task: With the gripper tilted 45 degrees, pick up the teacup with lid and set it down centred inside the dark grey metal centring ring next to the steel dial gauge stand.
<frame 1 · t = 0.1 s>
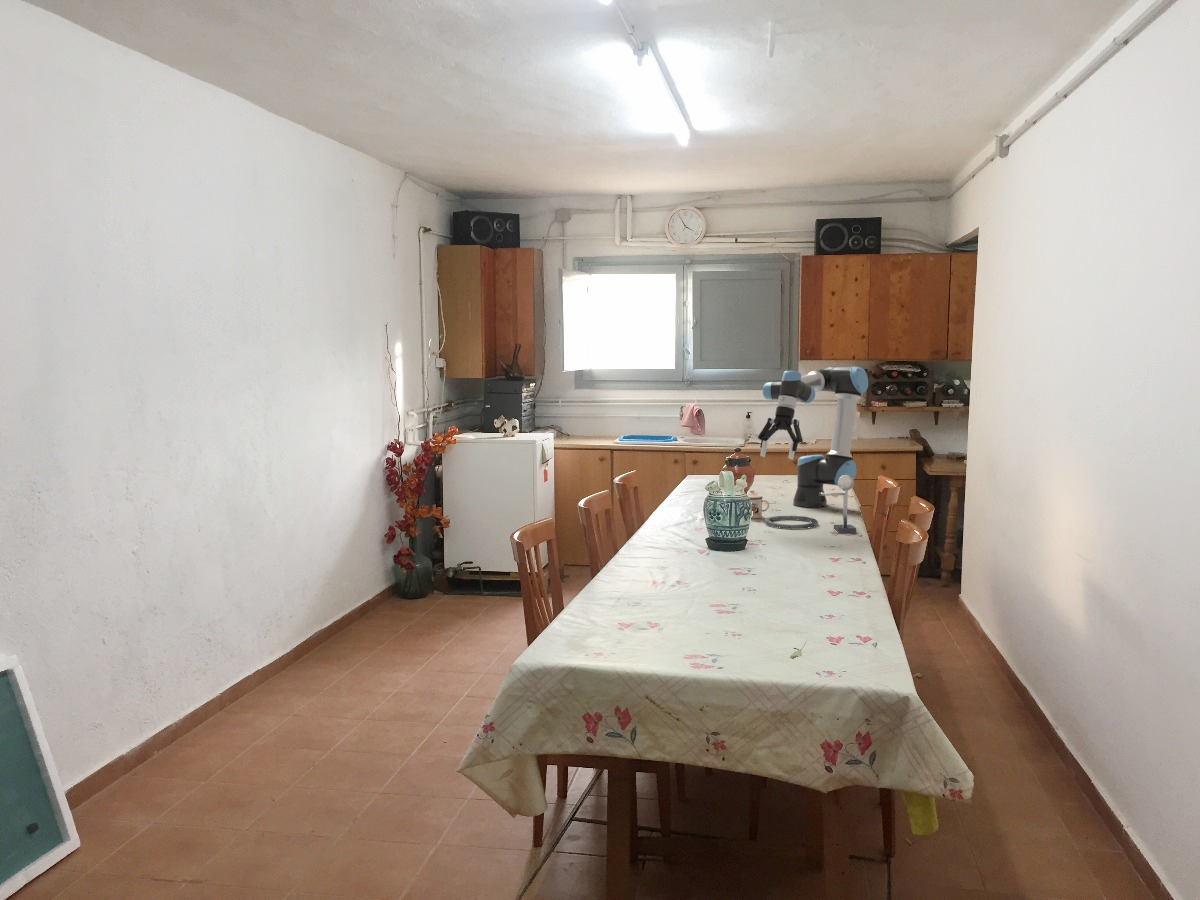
hand: (776, 457, 370), 28 cm above the table, tool tilted 20°, fingers open, 13 cm apart
dial gauge stand: (844, 531, 358), on the table
teacup with lid: (755, 517, 391), on the table
centring ring: (791, 523, 374), on the table
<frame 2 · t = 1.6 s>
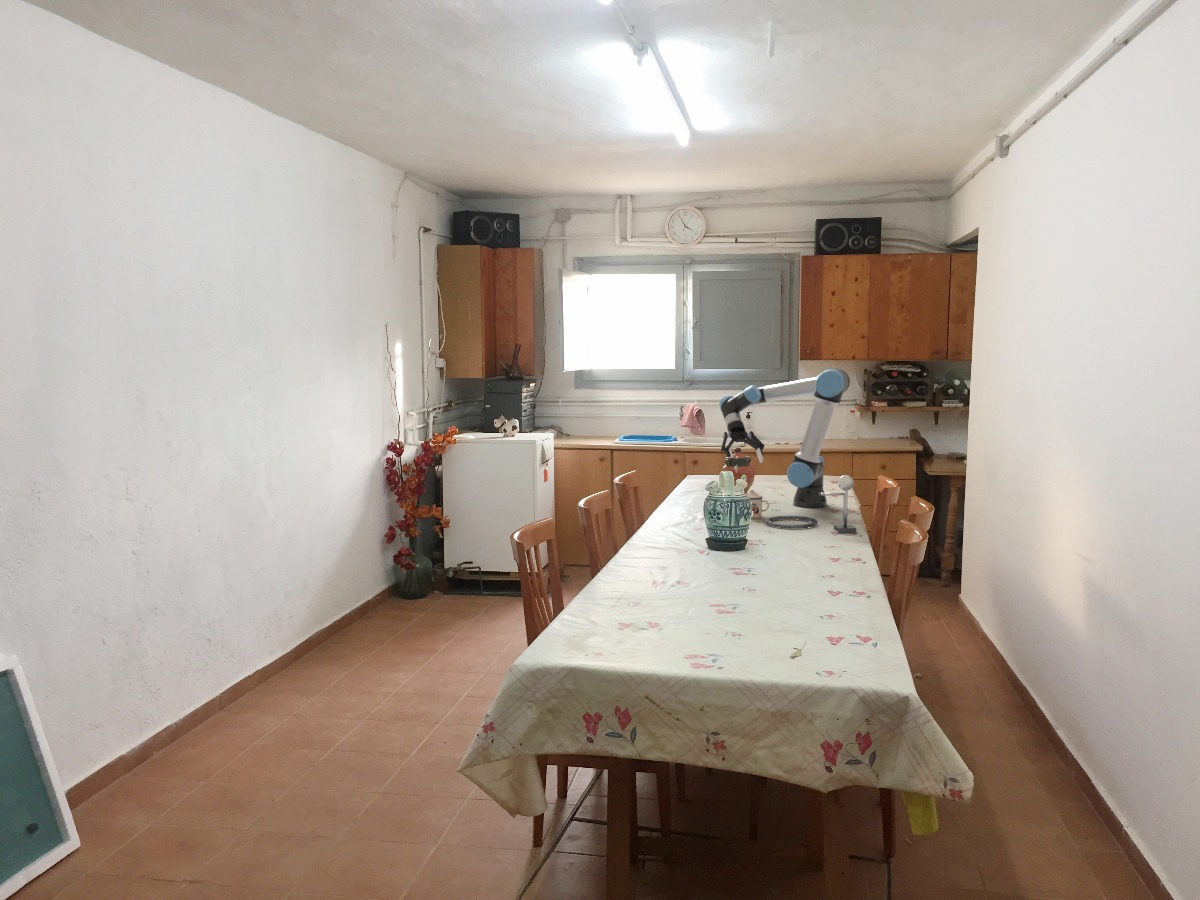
hand: (747, 461, 398), 23 cm above the table, tool tilted 45°, fingers open, 13 cm apart
nothing on the table moved.
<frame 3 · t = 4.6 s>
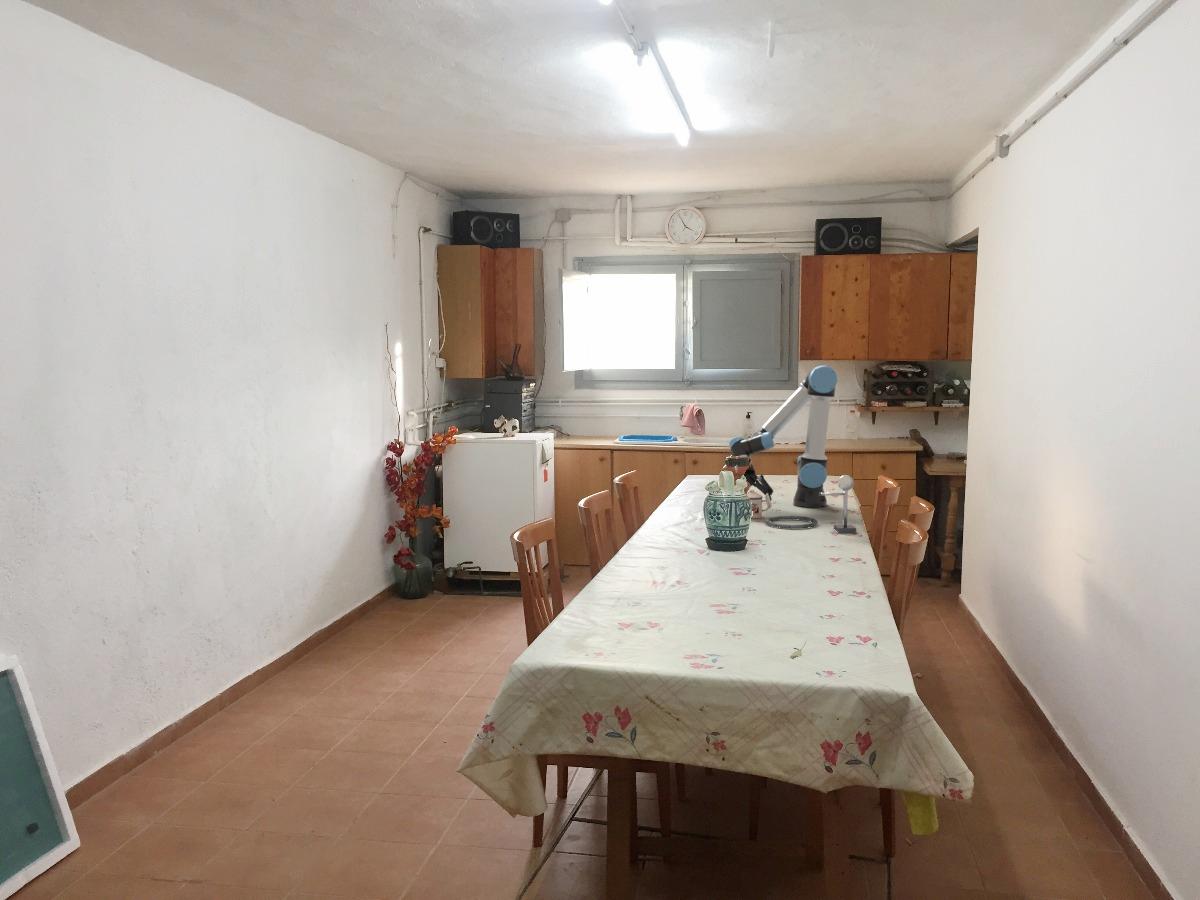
hand: (757, 507, 387), 4 cm above the table, tool tilted 45°, fingers closed on teacup with lid, 11 cm apart
teacup with lid: (755, 517, 391), on the table, touching gripper
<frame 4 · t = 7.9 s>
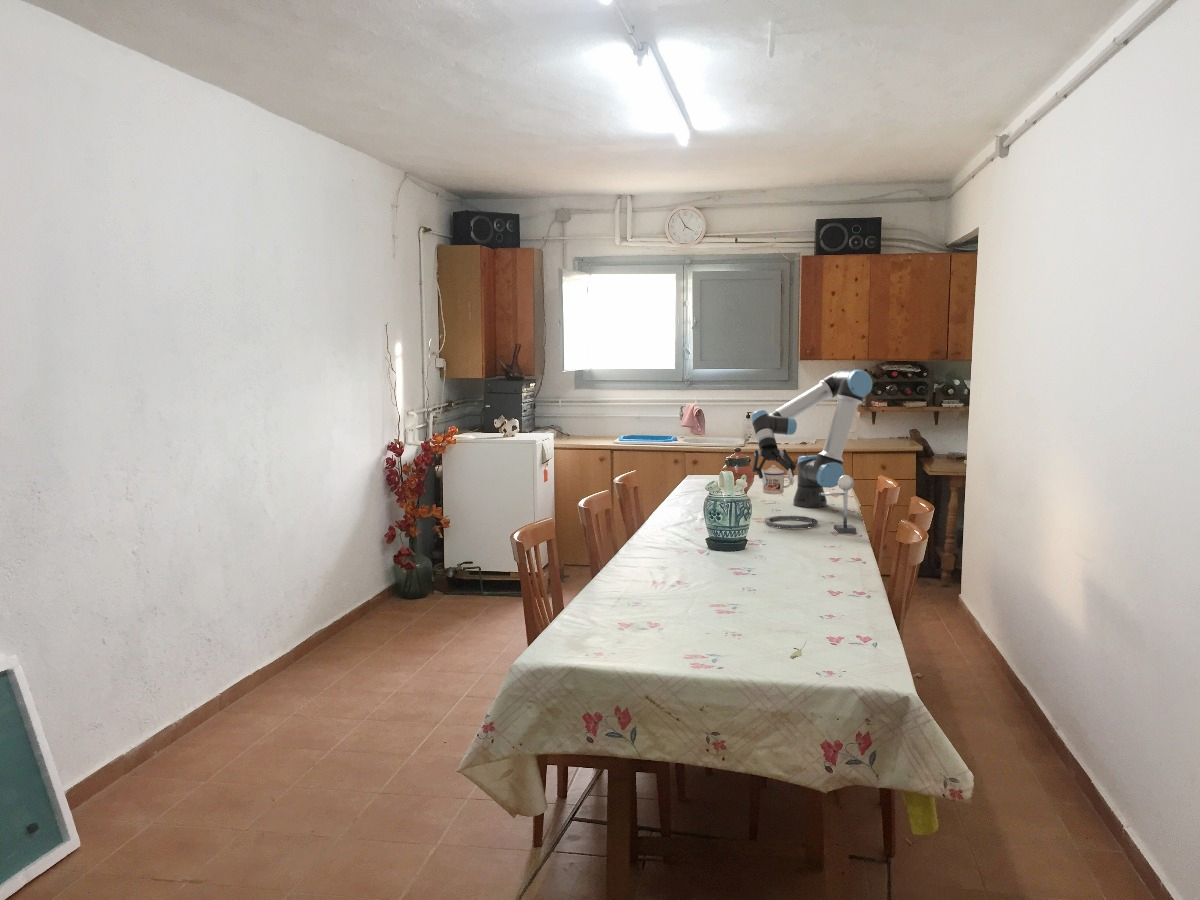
hand: (778, 483, 373), 17 cm above the table, tool tilted 45°, fingers closed on teacup with lid, 11 cm apart
teacup with lid: (776, 493, 377), point 12 cm above the table, touching gripper
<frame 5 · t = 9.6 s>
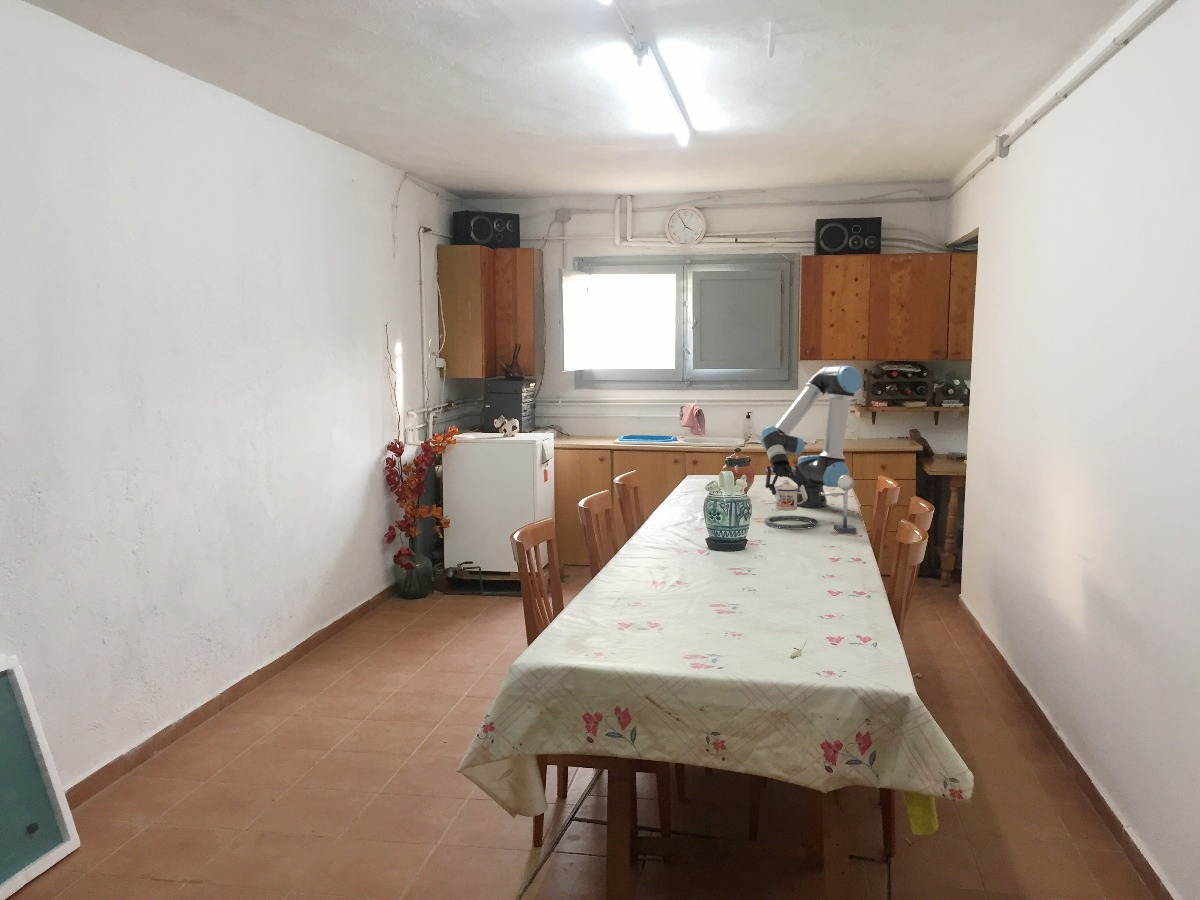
hand: (792, 500, 369), 11 cm above the table, tool tilted 45°, fingers closed on teacup with lid, 11 cm apart
teacup with lid: (789, 509, 373), point 6 cm above the table, touching gripper
when the fingers open (6 cm above the table, at t = 11.1 s): teacup with lid drops 1 cm, resting in centring ring.
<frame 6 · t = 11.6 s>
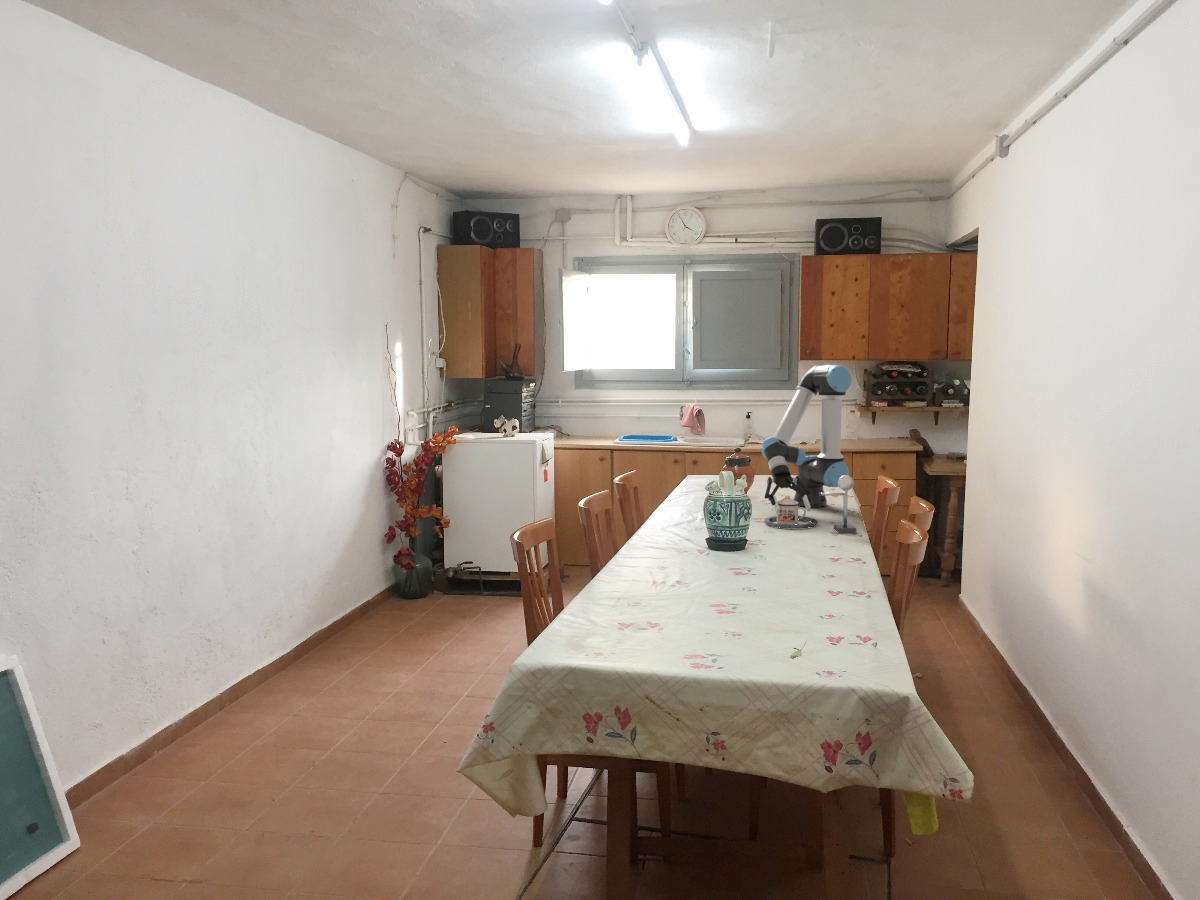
hand: (793, 510, 371), 6 cm above the table, tool tilted 45°, fingers open, 13 cm apart
teacup with lid: (790, 524, 374), resting in centring ring
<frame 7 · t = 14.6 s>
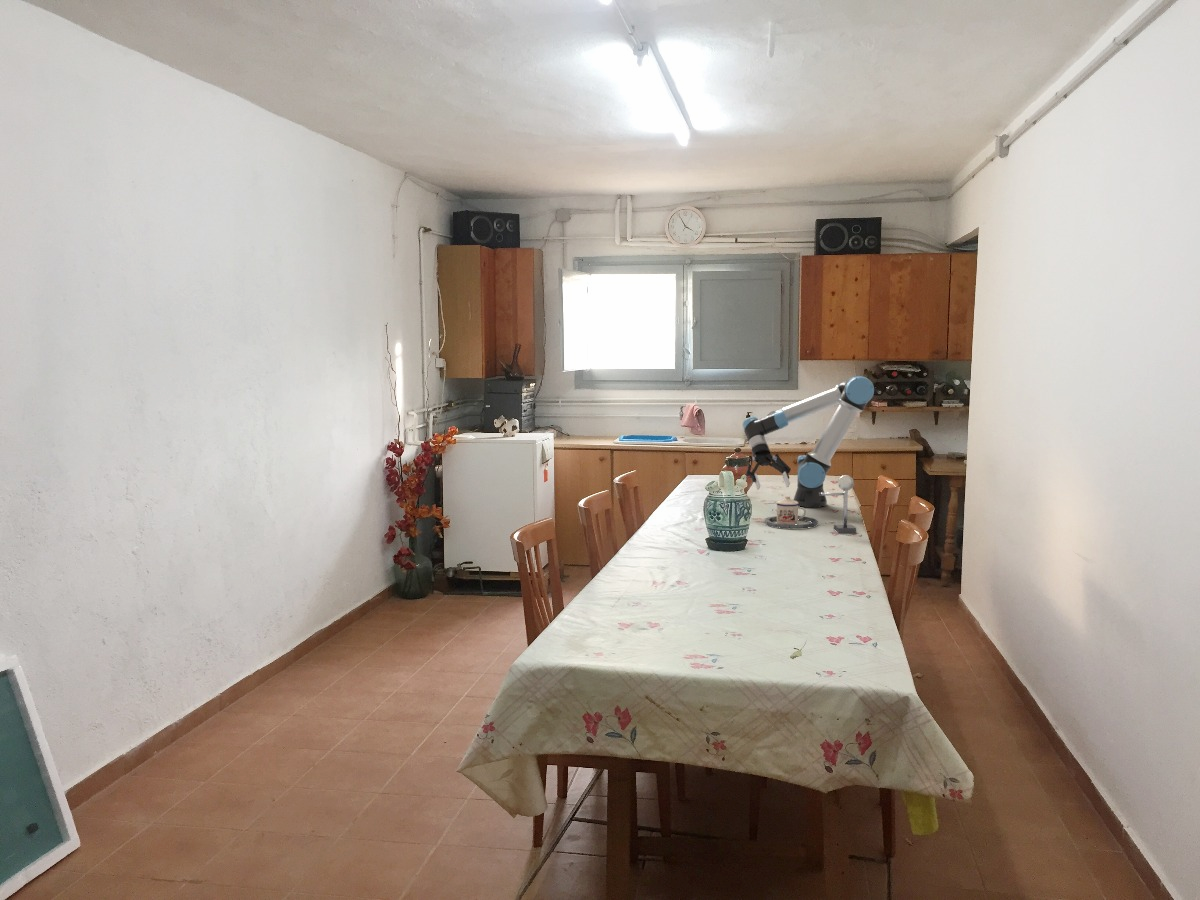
hand: (773, 486, 387), 13 cm above the table, tool tilted 45°, fingers open, 13 cm apart
nothing on the table moved.
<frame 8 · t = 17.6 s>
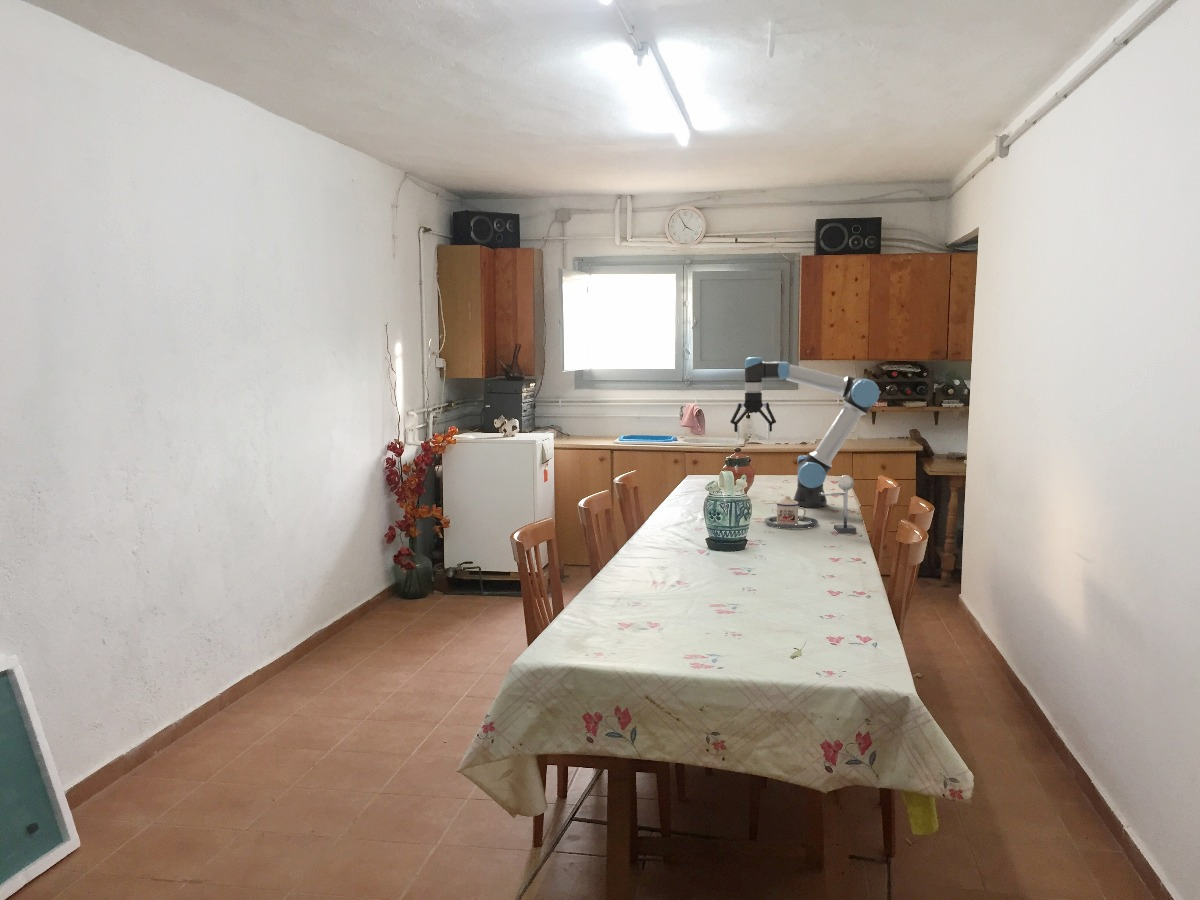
hand: (752, 439, 406), 32 cm above the table, tool pointing down, fingers open, 13 cm apart
nothing on the table moved.
at the end: teacup with lid 0.1 cm from the centring ring (horizontally); teacup with lid tilted 0°; the gripper is holding nothing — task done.
